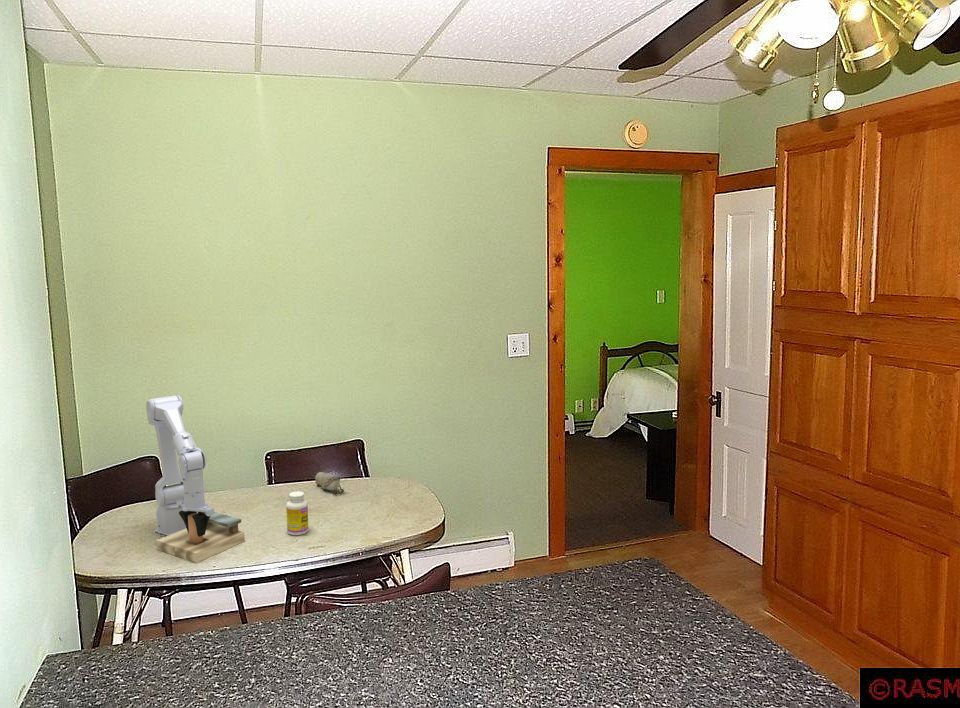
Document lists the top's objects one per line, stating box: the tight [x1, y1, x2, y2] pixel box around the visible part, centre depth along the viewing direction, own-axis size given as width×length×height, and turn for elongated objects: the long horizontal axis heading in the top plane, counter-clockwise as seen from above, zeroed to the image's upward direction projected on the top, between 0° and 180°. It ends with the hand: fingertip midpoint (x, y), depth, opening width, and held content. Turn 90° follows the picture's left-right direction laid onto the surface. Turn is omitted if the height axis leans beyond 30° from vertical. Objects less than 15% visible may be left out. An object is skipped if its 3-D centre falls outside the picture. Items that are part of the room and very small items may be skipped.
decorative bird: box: [314, 471, 345, 497], centre depth 276 cm, size 5×16×8 cm, turn 44°
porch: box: [156, 511, 245, 564], centre depth 227 cm, size 18×18×7 cm
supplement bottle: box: [285, 490, 309, 536], centre depth 237 cm, size 7×7×13 cm
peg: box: [188, 512, 204, 543], centre depth 223 cm, size 4×4×8 cm
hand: (196, 533), depth 223 cm, fingers closed on peg, 4 cm apart
